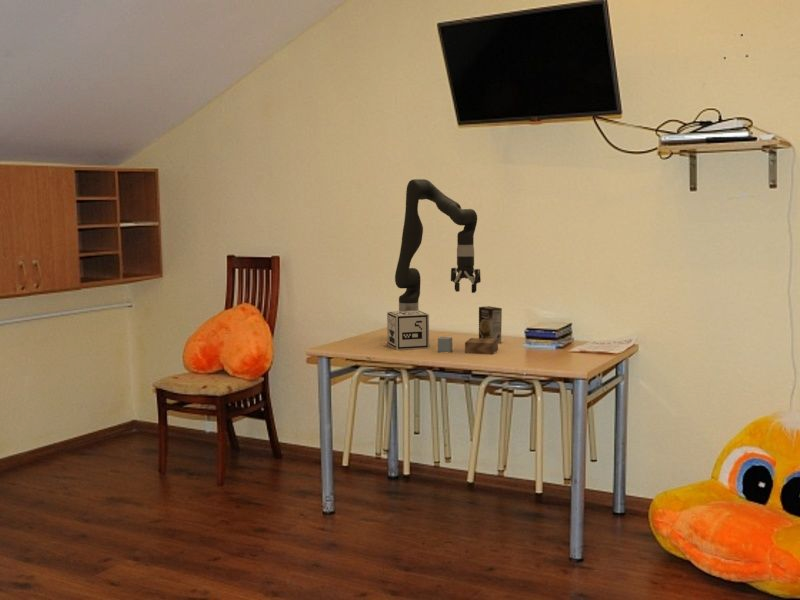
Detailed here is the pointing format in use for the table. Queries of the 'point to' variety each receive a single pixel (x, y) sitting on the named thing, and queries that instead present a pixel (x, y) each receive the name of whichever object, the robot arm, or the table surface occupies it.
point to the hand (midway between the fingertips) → (465, 292)
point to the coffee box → (490, 323)
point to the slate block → (445, 344)
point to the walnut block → (481, 346)
